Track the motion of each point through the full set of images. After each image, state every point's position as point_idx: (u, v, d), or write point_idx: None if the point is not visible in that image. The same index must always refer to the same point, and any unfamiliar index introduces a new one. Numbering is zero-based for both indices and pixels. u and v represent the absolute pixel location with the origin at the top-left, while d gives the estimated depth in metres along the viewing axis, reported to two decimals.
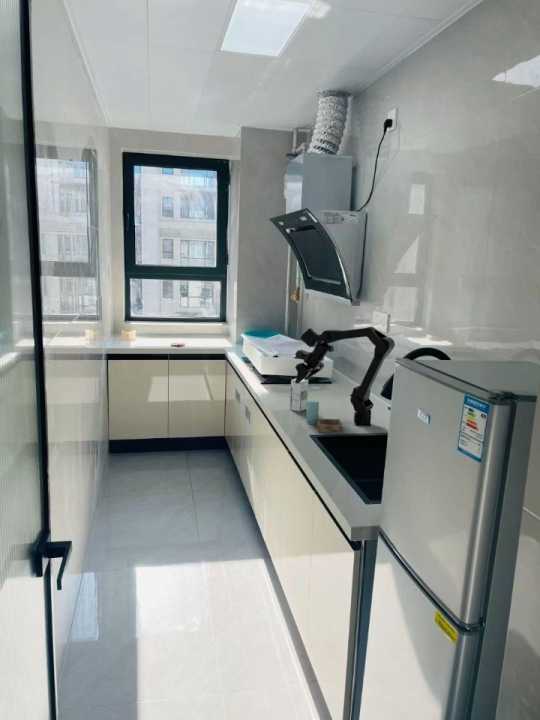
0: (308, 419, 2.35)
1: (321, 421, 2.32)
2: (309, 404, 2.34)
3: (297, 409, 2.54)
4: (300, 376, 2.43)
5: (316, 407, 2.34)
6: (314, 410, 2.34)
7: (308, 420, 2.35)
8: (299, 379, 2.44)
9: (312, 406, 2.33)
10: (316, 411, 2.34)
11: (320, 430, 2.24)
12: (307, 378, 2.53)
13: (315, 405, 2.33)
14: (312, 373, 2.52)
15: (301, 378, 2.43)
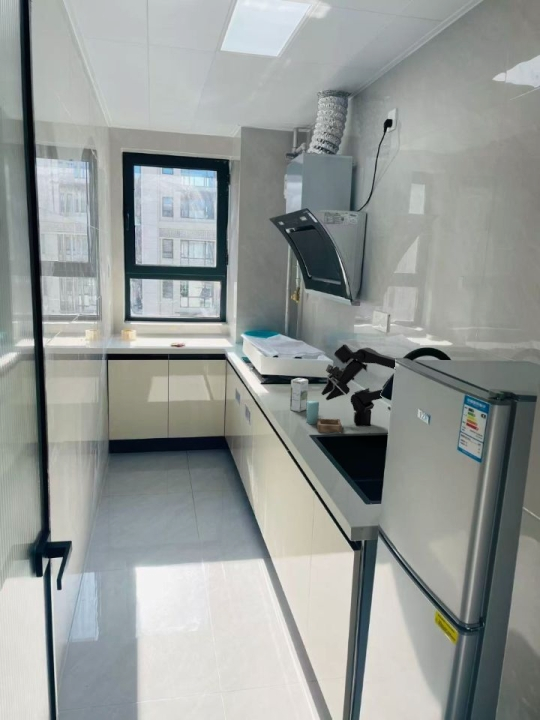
0: (308, 419, 2.35)
1: (321, 421, 2.32)
2: (309, 404, 2.34)
3: (297, 409, 2.54)
4: (335, 393, 2.30)
5: (316, 407, 2.34)
6: (314, 410, 2.34)
7: (308, 420, 2.35)
8: (332, 396, 2.31)
9: (312, 406, 2.33)
10: (316, 411, 2.34)
11: (320, 430, 2.24)
12: (325, 393, 2.41)
13: (315, 405, 2.33)
14: (331, 389, 2.41)
15: (335, 395, 2.31)
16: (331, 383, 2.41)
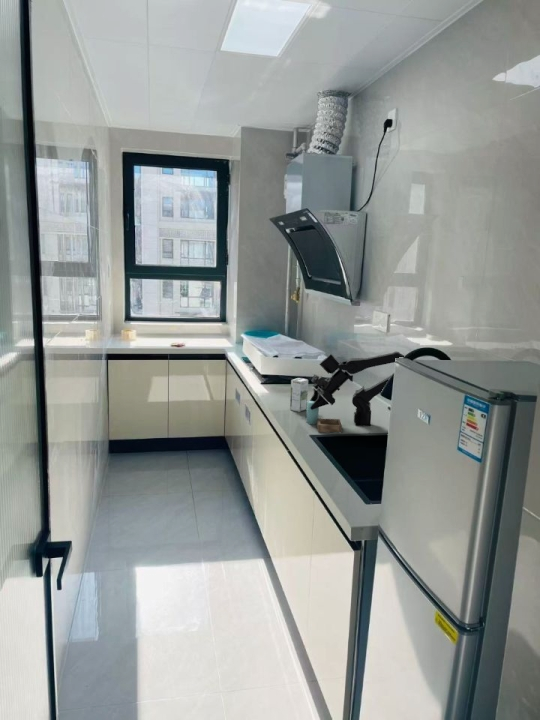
0: (308, 418, 2.35)
1: (321, 421, 2.32)
2: (309, 404, 2.34)
3: (297, 409, 2.54)
4: (319, 403, 2.32)
5: None
6: (314, 410, 2.34)
7: (308, 420, 2.35)
8: (317, 405, 2.32)
9: None
10: (316, 411, 2.34)
11: (320, 430, 2.24)
12: None
13: None
14: None
15: (320, 405, 2.32)
16: (317, 394, 2.38)
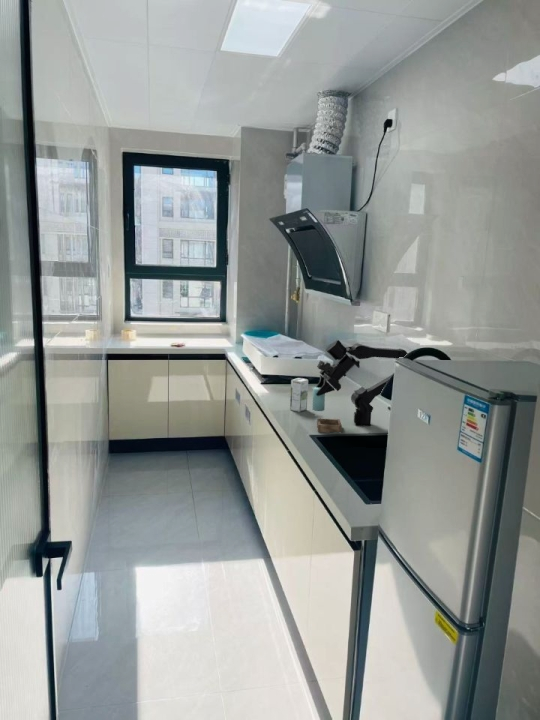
0: (314, 405, 2.31)
1: (321, 421, 2.32)
2: (315, 390, 2.30)
3: (297, 409, 2.54)
4: (325, 389, 2.28)
5: None
6: (320, 396, 2.30)
7: (314, 407, 2.32)
8: (323, 392, 2.29)
9: None
10: (322, 397, 2.31)
11: (320, 430, 2.24)
12: None
13: None
14: None
15: (326, 391, 2.28)
16: (324, 380, 2.35)
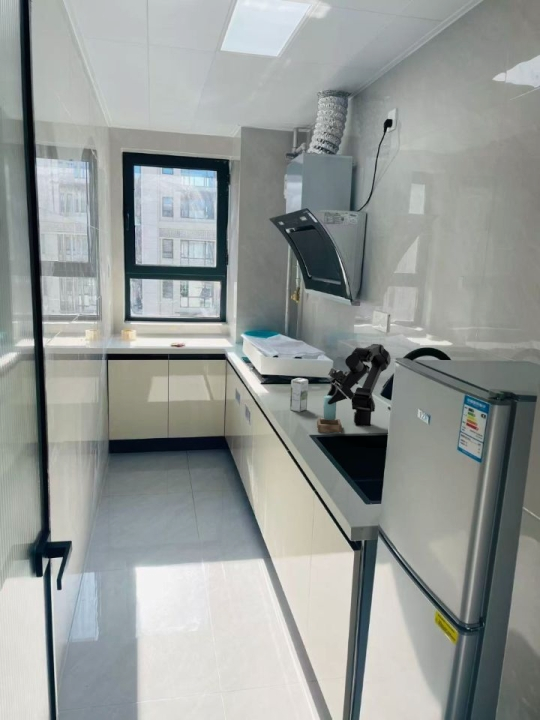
0: (325, 414, 2.26)
1: (321, 421, 2.32)
2: (326, 399, 2.24)
3: (297, 409, 2.54)
4: (337, 397, 2.23)
5: None
6: (332, 405, 2.24)
7: (325, 415, 2.26)
8: (335, 400, 2.23)
9: None
10: (334, 406, 2.25)
11: (320, 430, 2.24)
12: None
13: None
14: None
15: (338, 399, 2.23)
16: (335, 388, 2.29)
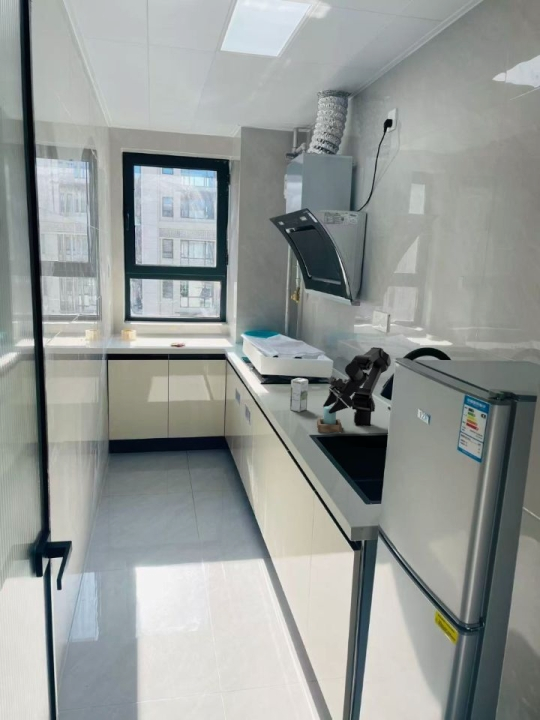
0: None
1: (321, 421, 2.32)
2: (326, 410, 2.25)
3: (297, 409, 2.54)
4: (338, 406, 2.21)
5: (333, 413, 2.25)
6: (331, 416, 2.25)
7: None
8: (335, 409, 2.21)
9: None
10: (333, 417, 2.26)
11: (320, 430, 2.24)
12: None
13: None
14: (333, 401, 2.32)
15: (339, 409, 2.21)
16: (333, 395, 2.32)
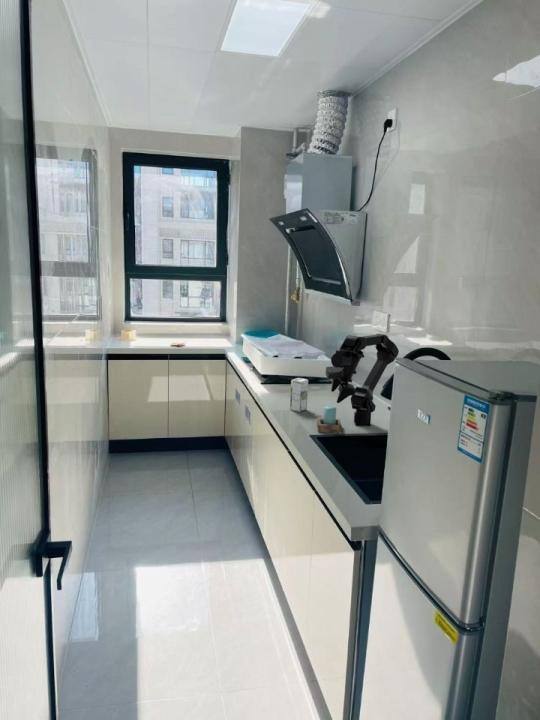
0: None
1: (321, 421, 2.32)
2: (326, 410, 2.25)
3: (297, 409, 2.54)
4: (343, 395, 2.26)
5: (333, 413, 2.25)
6: (331, 416, 2.25)
7: None
8: (342, 398, 2.27)
9: (329, 412, 2.25)
10: (333, 417, 2.26)
11: (320, 430, 2.24)
12: (335, 389, 2.37)
13: (332, 411, 2.25)
14: (339, 383, 2.36)
15: (344, 397, 2.27)
16: None
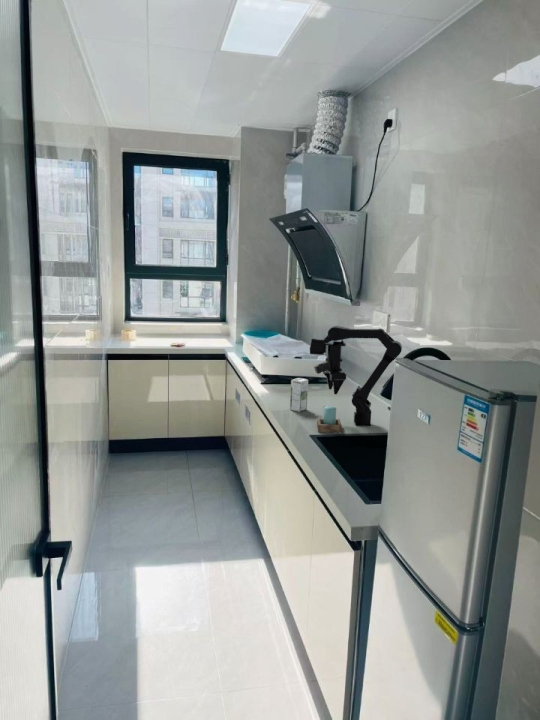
0: None
1: (321, 421, 2.32)
2: (326, 410, 2.25)
3: (297, 409, 2.54)
4: (337, 384, 2.32)
5: (333, 413, 2.25)
6: (331, 416, 2.25)
7: None
8: (337, 388, 2.32)
9: (329, 412, 2.25)
10: (333, 417, 2.26)
11: (320, 430, 2.24)
12: (332, 386, 2.42)
13: (332, 411, 2.25)
14: None
15: (339, 385, 2.32)
16: (329, 374, 2.42)
